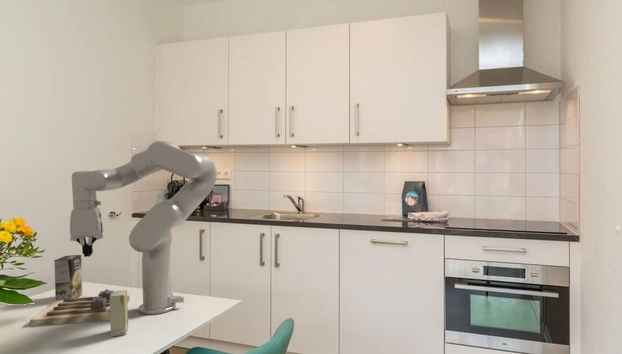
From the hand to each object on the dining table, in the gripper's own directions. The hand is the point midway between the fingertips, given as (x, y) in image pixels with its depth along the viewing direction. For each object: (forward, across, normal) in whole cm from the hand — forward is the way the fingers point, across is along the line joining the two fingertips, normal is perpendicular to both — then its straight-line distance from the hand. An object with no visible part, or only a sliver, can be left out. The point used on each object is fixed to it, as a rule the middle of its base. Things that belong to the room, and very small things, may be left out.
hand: (87, 255), depth 155 cm
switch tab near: (+17, -5, +9) cm, 20 cm away
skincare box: (+20, -16, +27) cm, 37 cm away
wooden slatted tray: (+19, +1, +5) cm, 20 cm away
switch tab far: (+17, -5, 0) cm, 18 cm away
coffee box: (+19, +12, -14) cm, 26 cm away
